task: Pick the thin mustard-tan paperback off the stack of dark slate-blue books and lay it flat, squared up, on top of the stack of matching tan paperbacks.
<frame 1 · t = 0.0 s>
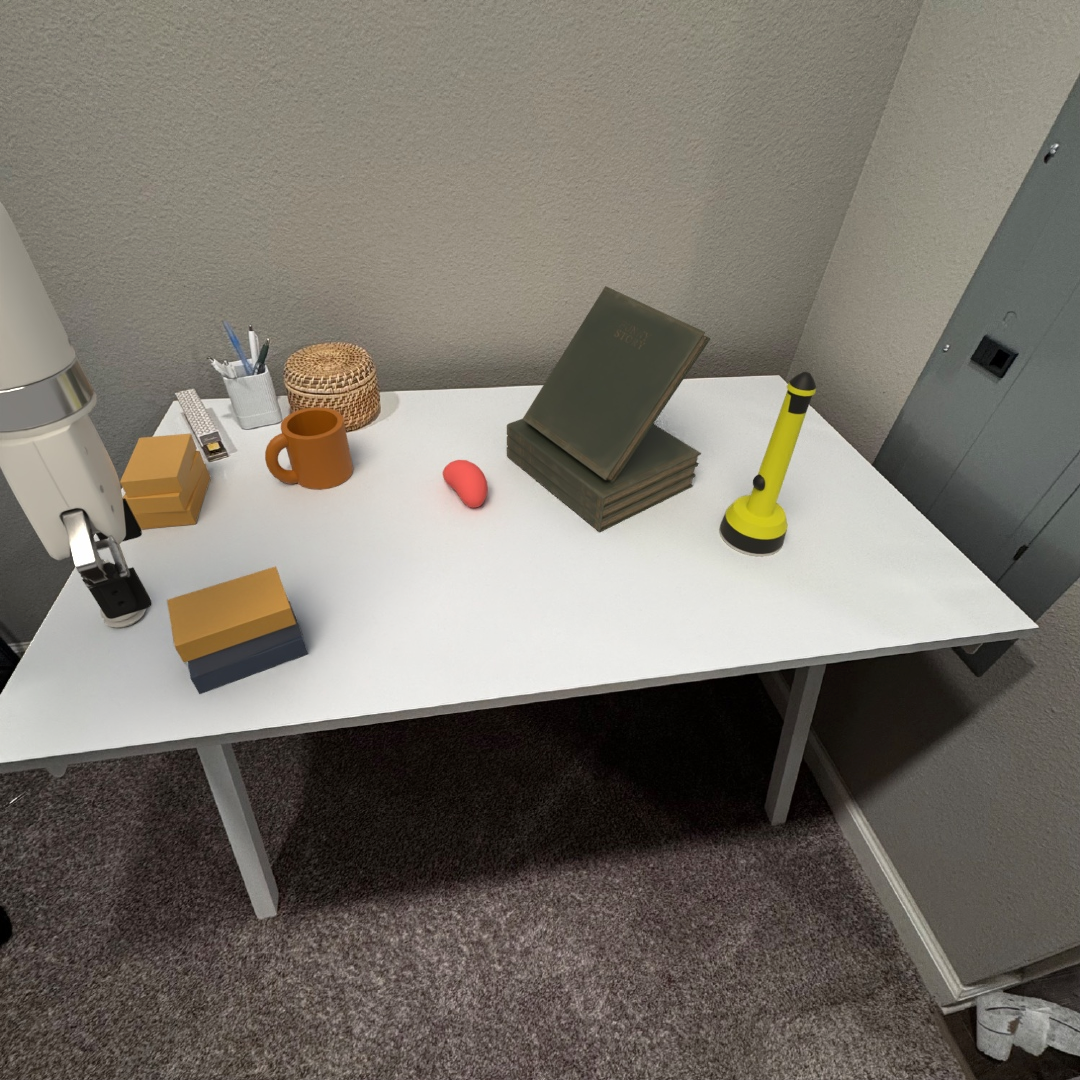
hand: (126, 573, 53), 19 cm above the table, tool pointing down, fingers open, 9 cm apart
slate books: (250, 653, 70), on the table
flashlight: (750, 536, 89), on the table
tan book: (235, 620, 67), point 6 cm above the table, touching slate books
mug: (313, 476, 96), on the table
tan books: (177, 502, 90), on the table
rook chess piece: (127, 616, 74), on the table
bible: (597, 472, 99), on the table
stress ball: (467, 495, 94), on the table
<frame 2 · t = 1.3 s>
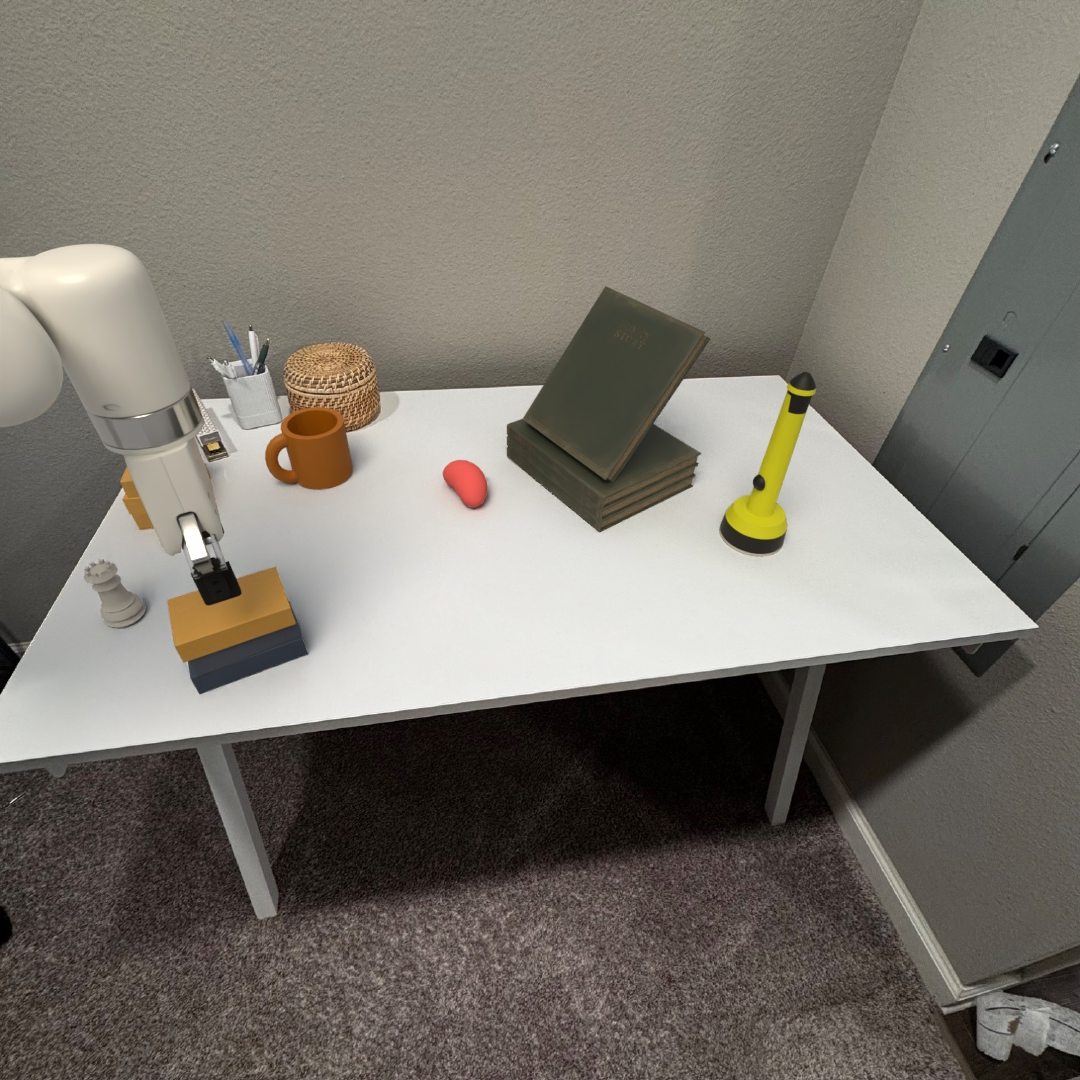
hand: (216, 566, 62), 13 cm above the table, tool pointing down, fingers open, 9 cm apart
nothing on the table moved.
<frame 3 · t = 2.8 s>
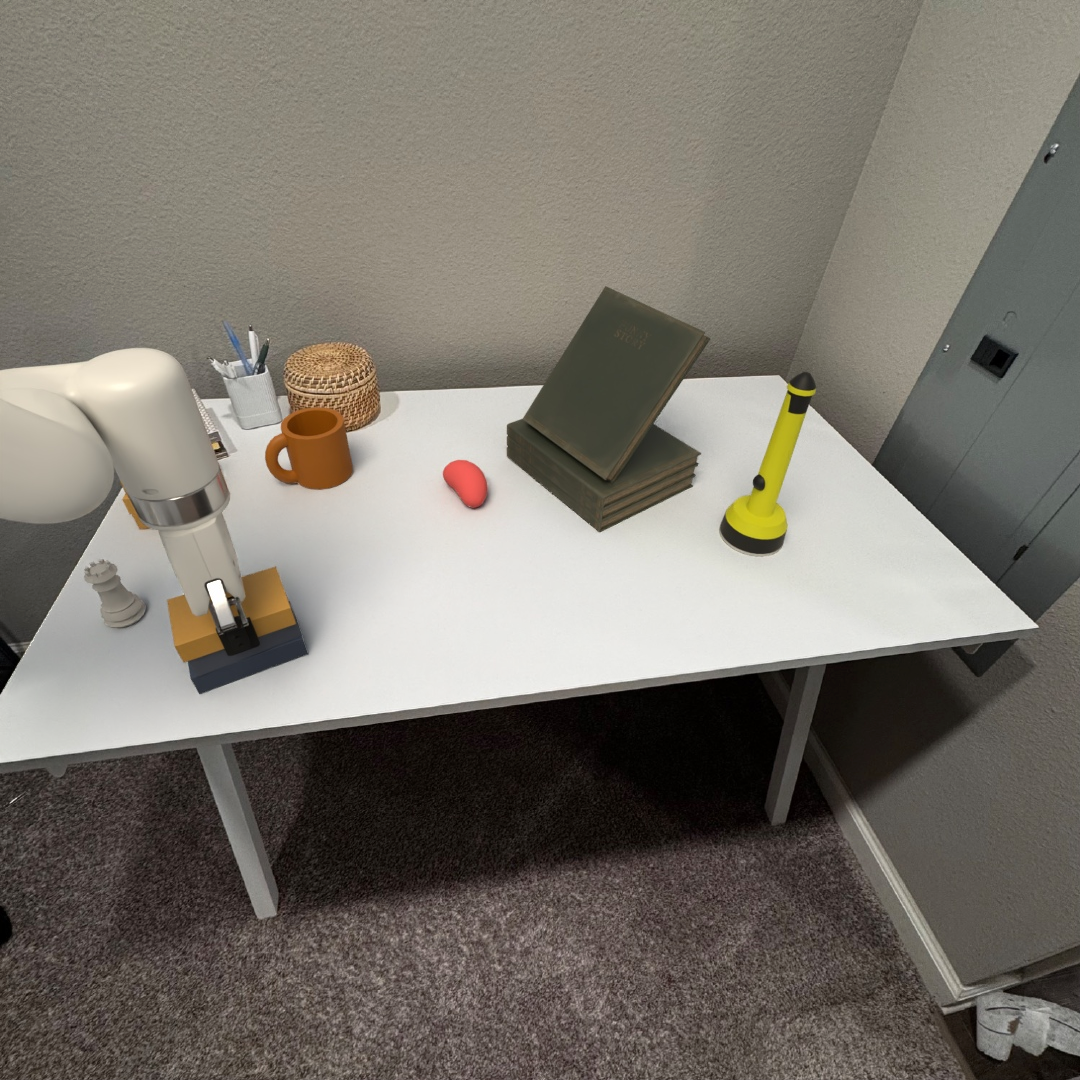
hand: (237, 623, 67), 5 cm above the table, tool pointing down, fingers closed on tan book, 7 cm apart
tan book: (235, 620, 67), point 6 cm above the table, touching gripper, slate books
everything else where it was.
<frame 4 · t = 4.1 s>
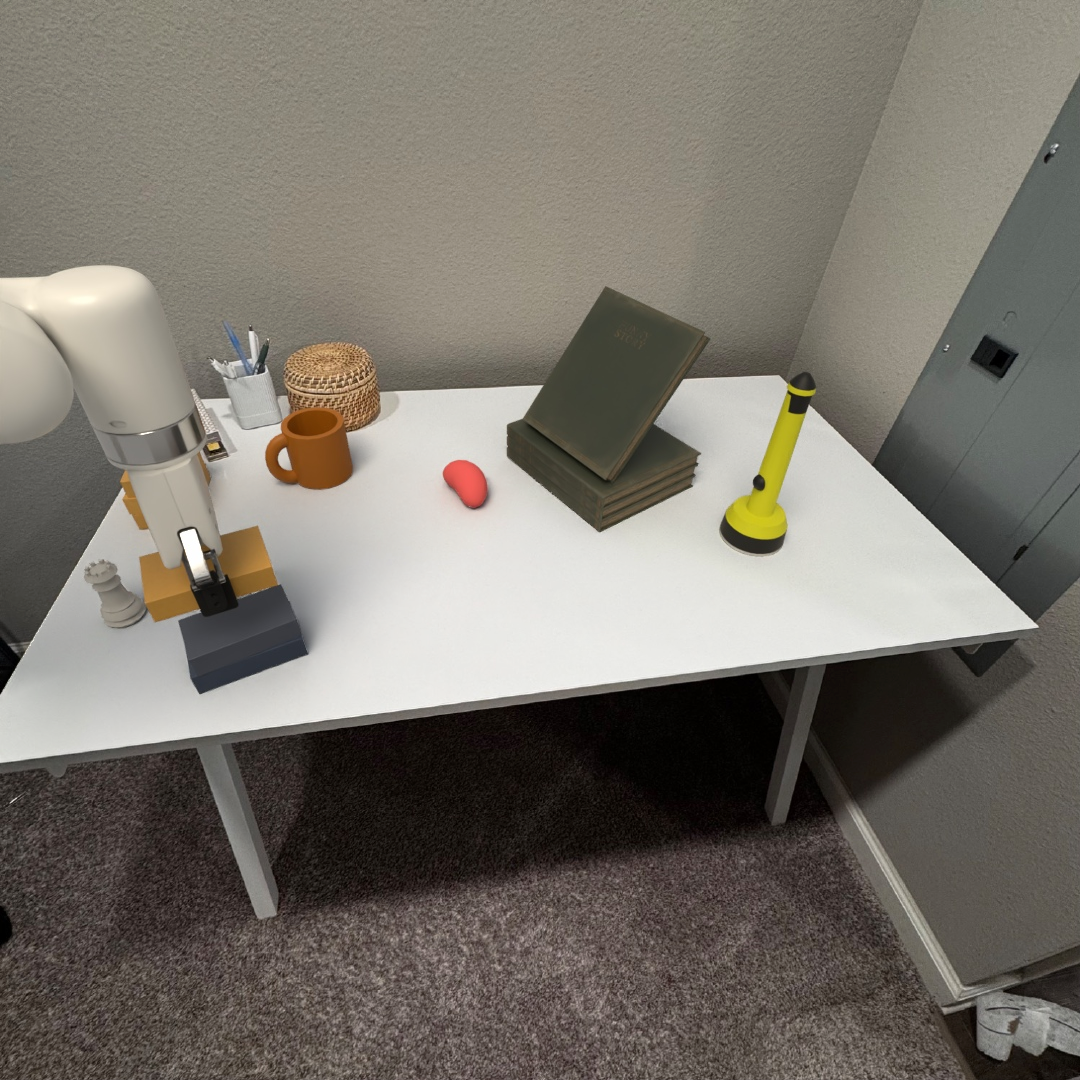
hand: (214, 583, 62), 11 cm above the table, tool pointing down, fingers closed on tan book, 7 cm apart
tan book: (213, 580, 62), point 12 cm above the table, touching gripper
everything else where it was.
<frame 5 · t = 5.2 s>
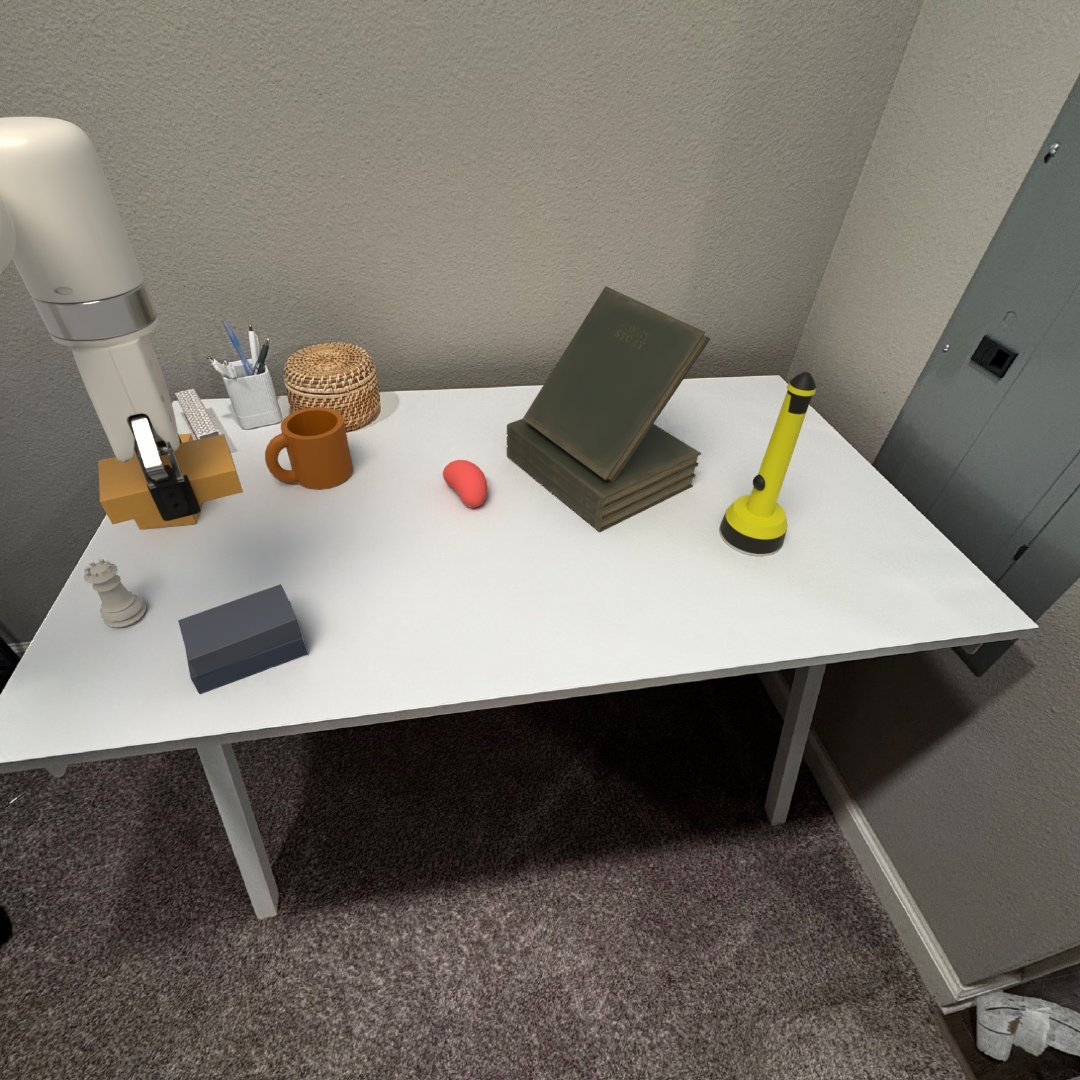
hand: (177, 491, 60), 20 cm above the table, tool pointing down, fingers closed on tan book, 7 cm apart
tan book: (176, 487, 60), point 20 cm above the table, touching gripper
everything else where it was.
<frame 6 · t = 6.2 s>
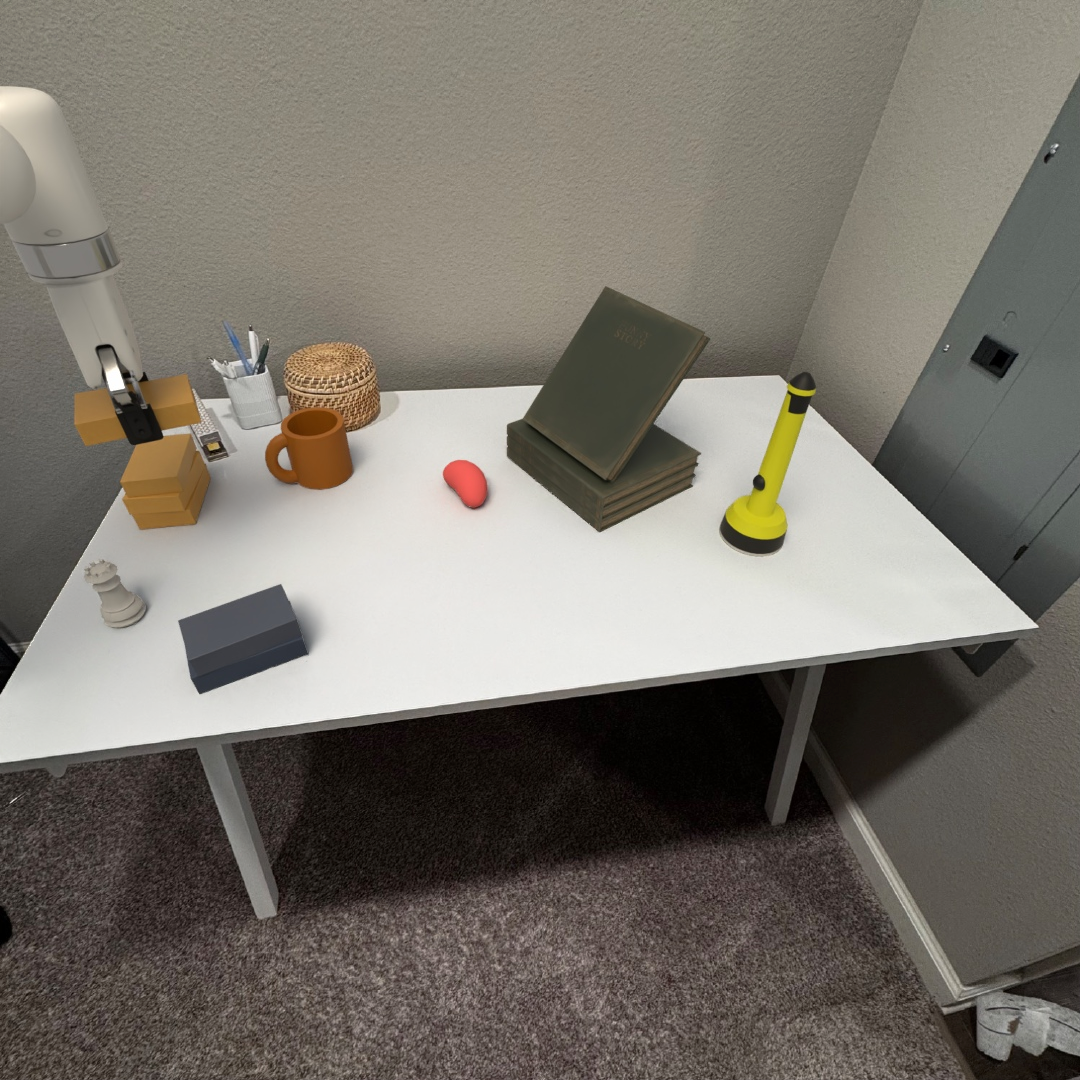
hand: (144, 422, 69), 20 cm above the table, tool pointing down, fingers closed on tan book, 7 cm apart
tan book: (143, 418, 68), point 20 cm above the table, touching gripper
everything else where it was.
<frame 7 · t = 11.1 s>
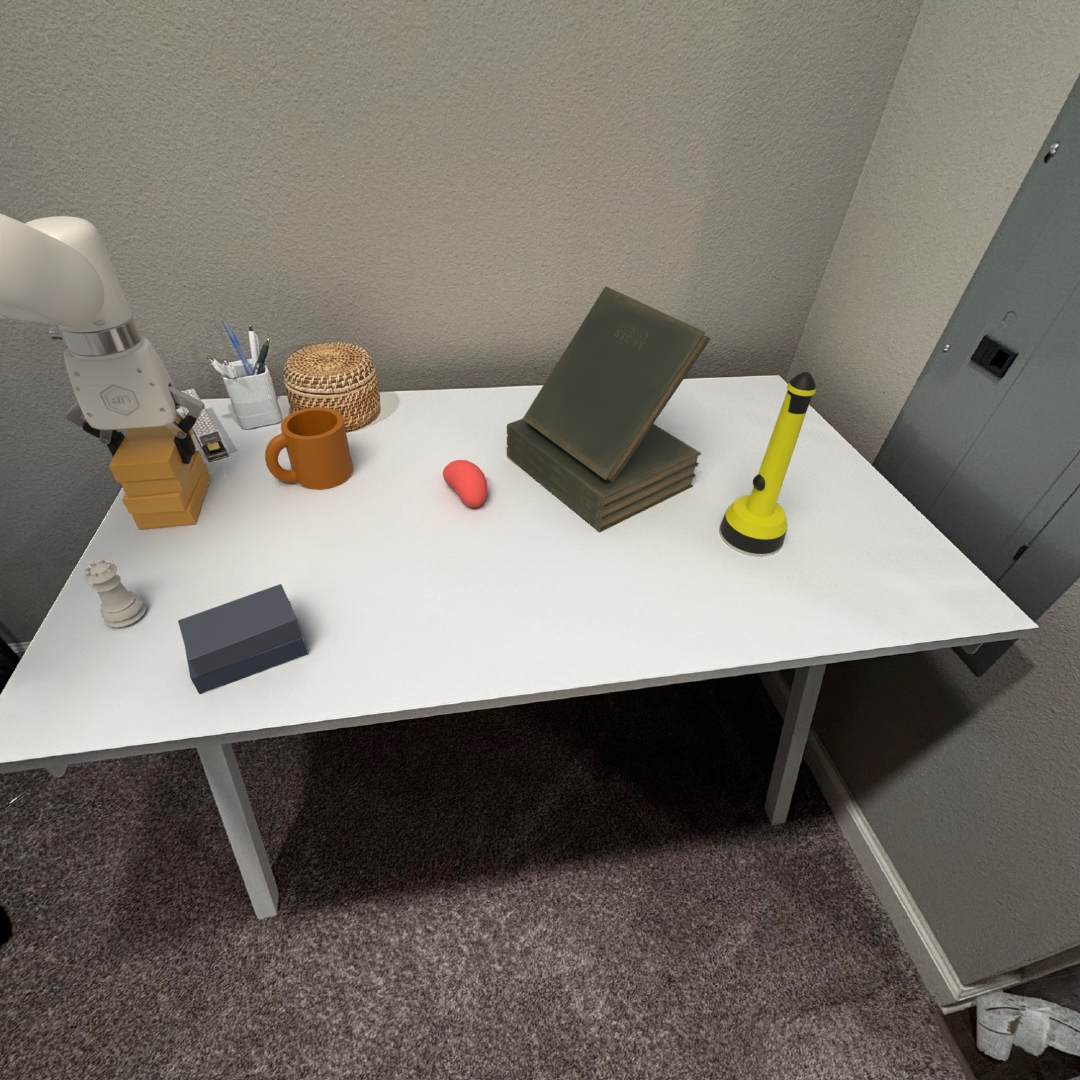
hand: (158, 460, 85), 7 cm above the table, tool pointing down, fingers closed on tan book, 7 cm apart
tan book: (157, 456, 85), point 8 cm above the table, touching gripper, tan books
everything else where it was.
when the fingers open (7 cm above the table, at t = 11.3 s): tan book stays where it is, resting on tan books.
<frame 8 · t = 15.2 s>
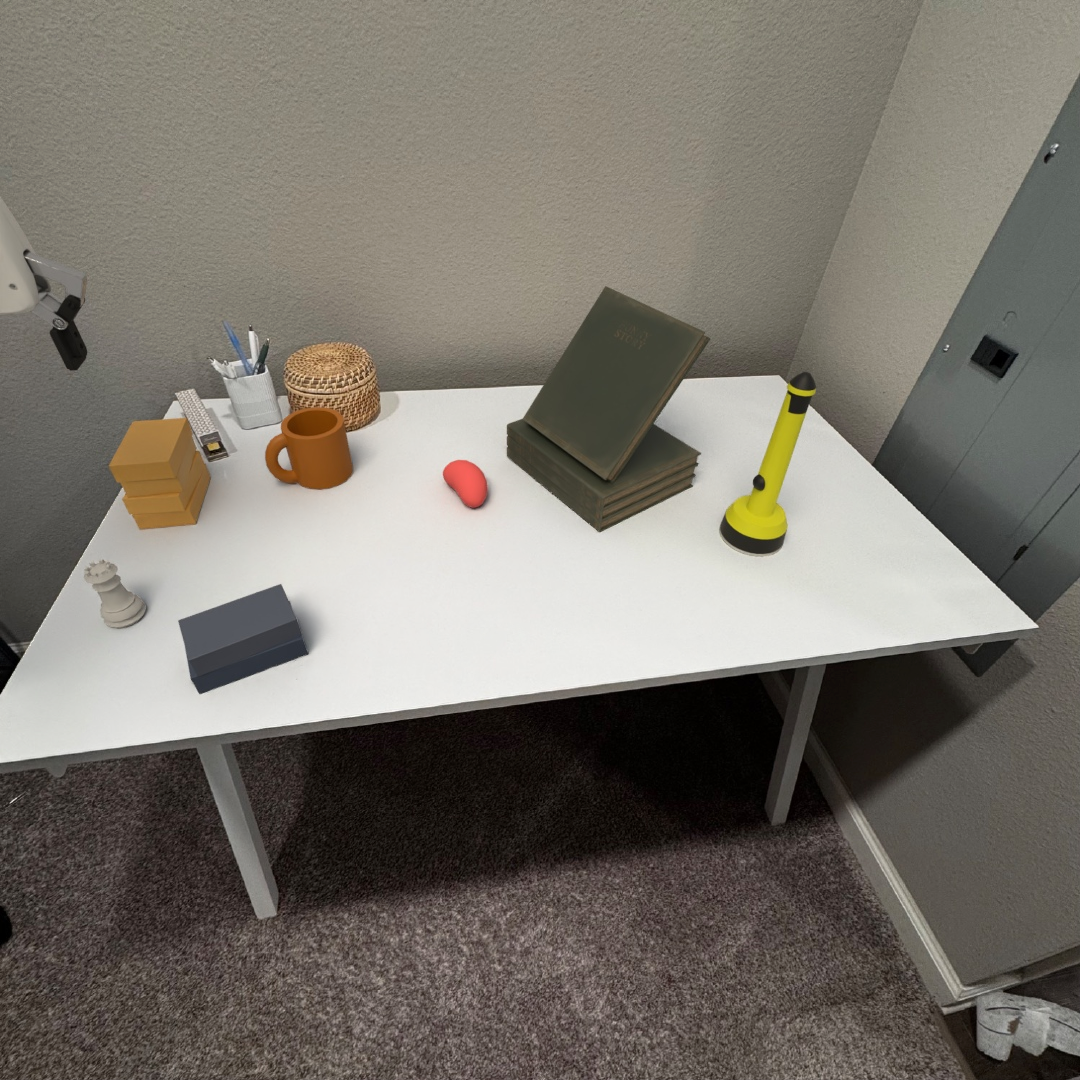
hand: (22, 367, 60), 28 cm above the table, tool pointing down, fingers open, 9 cm apart
tan book: (157, 456, 85), point 8 cm above the table, touching tan books
everything else where it was.
at the end: tan book 0.1 cm off-centre on the tan books, point 7.8 cm above the tan books's base; tan book tilted 0° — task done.
